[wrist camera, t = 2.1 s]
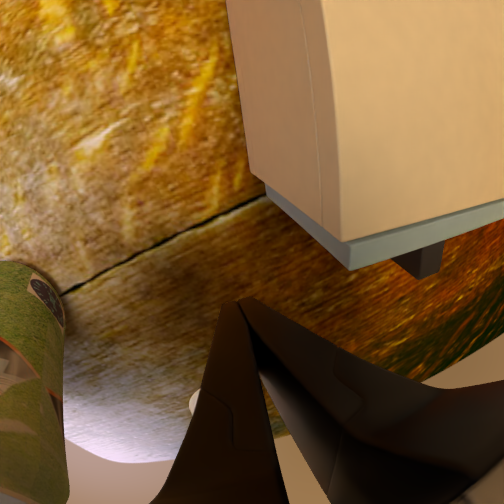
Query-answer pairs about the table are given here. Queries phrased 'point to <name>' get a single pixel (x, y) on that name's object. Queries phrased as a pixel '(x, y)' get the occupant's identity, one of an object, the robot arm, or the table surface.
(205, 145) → the table surface
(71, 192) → the table surface
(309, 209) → the box
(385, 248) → the closet door
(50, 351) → the beverage can
